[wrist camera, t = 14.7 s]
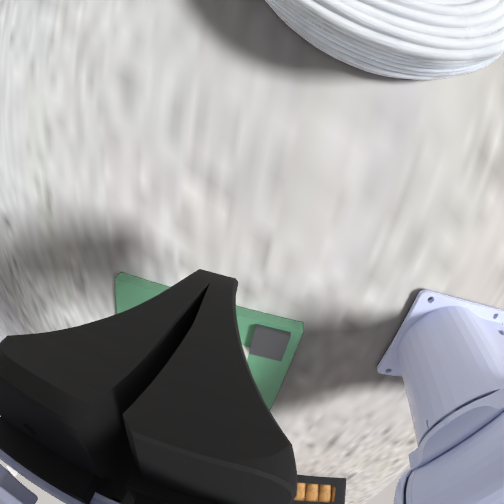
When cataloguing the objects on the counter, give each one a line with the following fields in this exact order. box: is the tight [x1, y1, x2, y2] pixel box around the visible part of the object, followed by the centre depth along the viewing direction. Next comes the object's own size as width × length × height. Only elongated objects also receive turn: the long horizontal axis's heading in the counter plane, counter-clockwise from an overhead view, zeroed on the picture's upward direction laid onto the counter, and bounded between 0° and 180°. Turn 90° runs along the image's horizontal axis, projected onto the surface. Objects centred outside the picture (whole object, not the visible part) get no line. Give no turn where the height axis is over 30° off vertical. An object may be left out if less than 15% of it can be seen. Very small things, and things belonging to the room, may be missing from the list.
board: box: [115, 272, 304, 411], centre depth 23 cm, size 14×12×2 cm
